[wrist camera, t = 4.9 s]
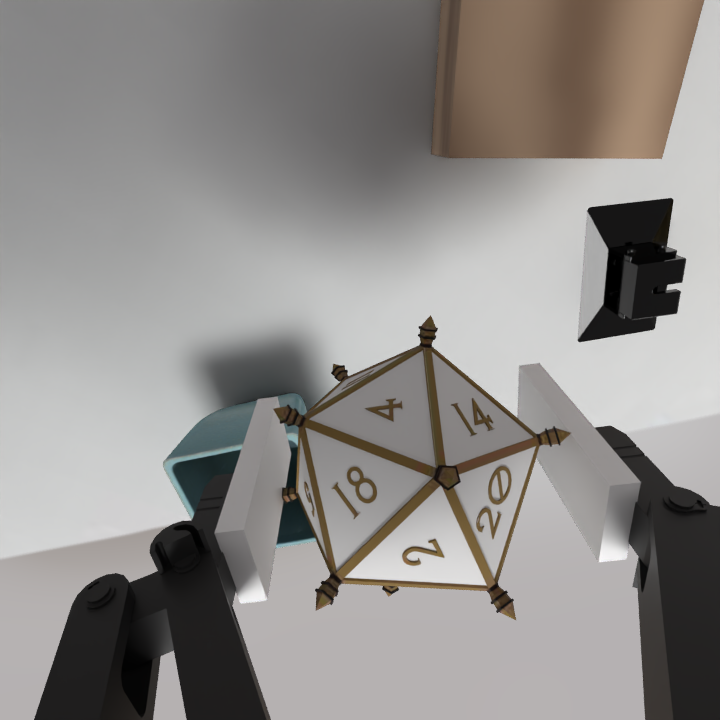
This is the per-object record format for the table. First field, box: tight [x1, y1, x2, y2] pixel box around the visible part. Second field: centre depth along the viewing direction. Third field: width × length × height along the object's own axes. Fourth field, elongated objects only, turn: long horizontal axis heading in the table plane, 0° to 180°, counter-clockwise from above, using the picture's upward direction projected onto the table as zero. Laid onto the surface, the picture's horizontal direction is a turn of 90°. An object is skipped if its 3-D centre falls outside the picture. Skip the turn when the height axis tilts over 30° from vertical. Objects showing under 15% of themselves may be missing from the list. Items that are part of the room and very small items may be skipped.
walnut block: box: [431, 0, 704, 159], centre depth 24 cm, size 11×11×6 cm
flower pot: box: [163, 393, 316, 548], centre depth 33 cm, size 9×9×9 cm
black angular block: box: [578, 198, 686, 342], centre depth 31 cm, size 12×7×5 cm, turn 8°
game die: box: [273, 316, 571, 620], centre depth 15 cm, size 9×8×10 cm
